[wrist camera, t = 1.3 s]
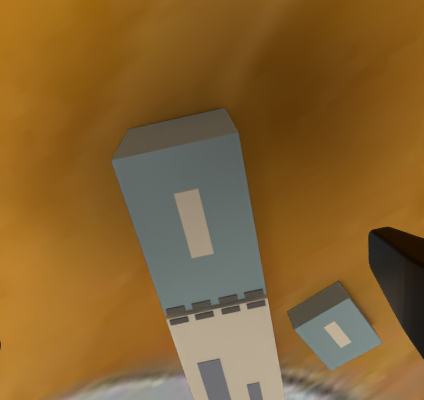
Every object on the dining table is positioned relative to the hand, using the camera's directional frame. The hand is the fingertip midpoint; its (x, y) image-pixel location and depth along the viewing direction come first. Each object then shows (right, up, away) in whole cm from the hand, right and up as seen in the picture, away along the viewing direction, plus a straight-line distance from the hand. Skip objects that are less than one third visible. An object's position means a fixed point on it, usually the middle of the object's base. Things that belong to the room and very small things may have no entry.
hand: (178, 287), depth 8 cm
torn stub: (+9, -6, +17) cm, 20 cm away
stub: (0, +3, +12) cm, 12 cm away
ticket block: (+2, -6, +16) cm, 17 cm away
